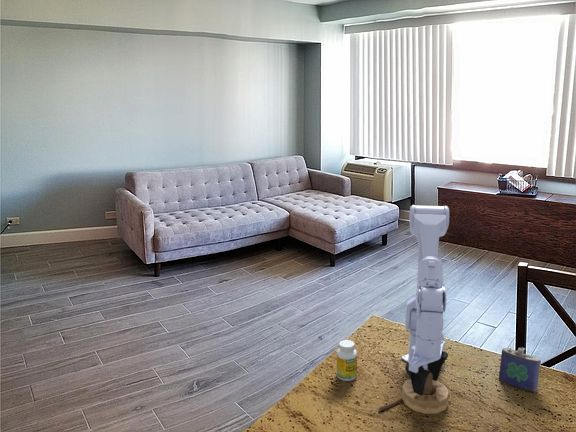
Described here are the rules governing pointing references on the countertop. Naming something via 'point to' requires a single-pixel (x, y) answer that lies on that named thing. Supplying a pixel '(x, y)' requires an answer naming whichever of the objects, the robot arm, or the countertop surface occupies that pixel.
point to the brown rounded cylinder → (428, 385)
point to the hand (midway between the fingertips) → (425, 385)
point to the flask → (519, 369)
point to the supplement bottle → (346, 361)
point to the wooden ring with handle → (423, 398)
